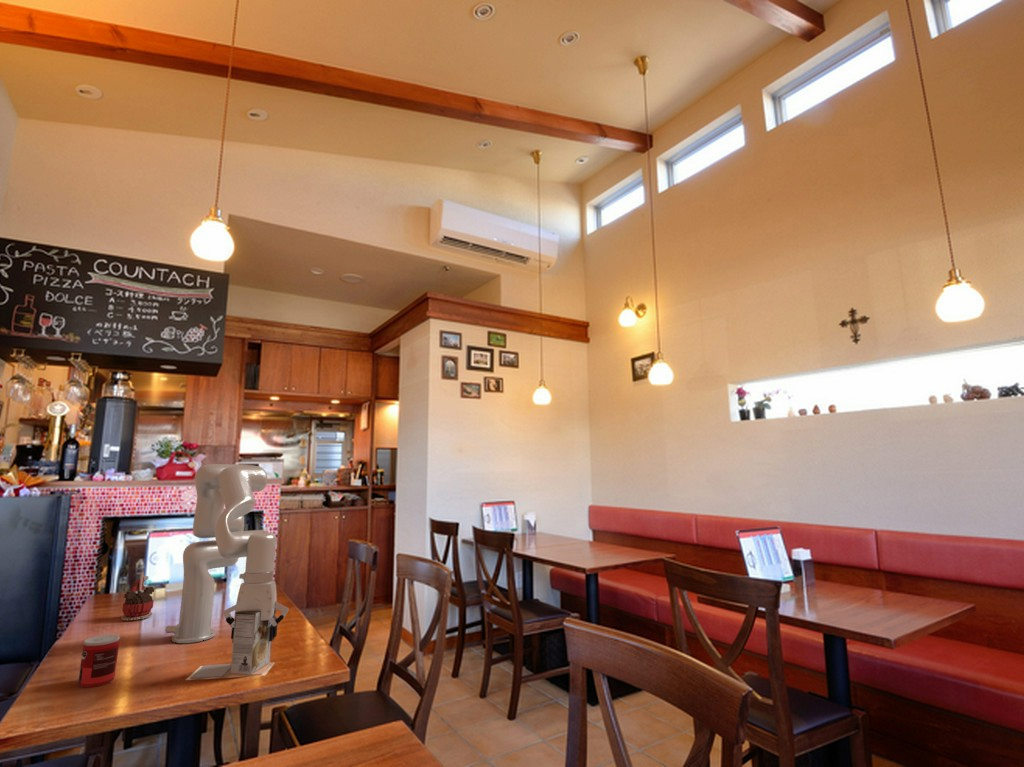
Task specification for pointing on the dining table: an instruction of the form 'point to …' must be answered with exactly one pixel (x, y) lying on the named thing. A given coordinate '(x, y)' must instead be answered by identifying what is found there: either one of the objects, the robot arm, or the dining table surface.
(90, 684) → the canned food
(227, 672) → the serving board
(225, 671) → the slate pad
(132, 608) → the cake
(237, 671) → the coffee box
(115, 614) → the dining table surface
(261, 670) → the terracotta pad
